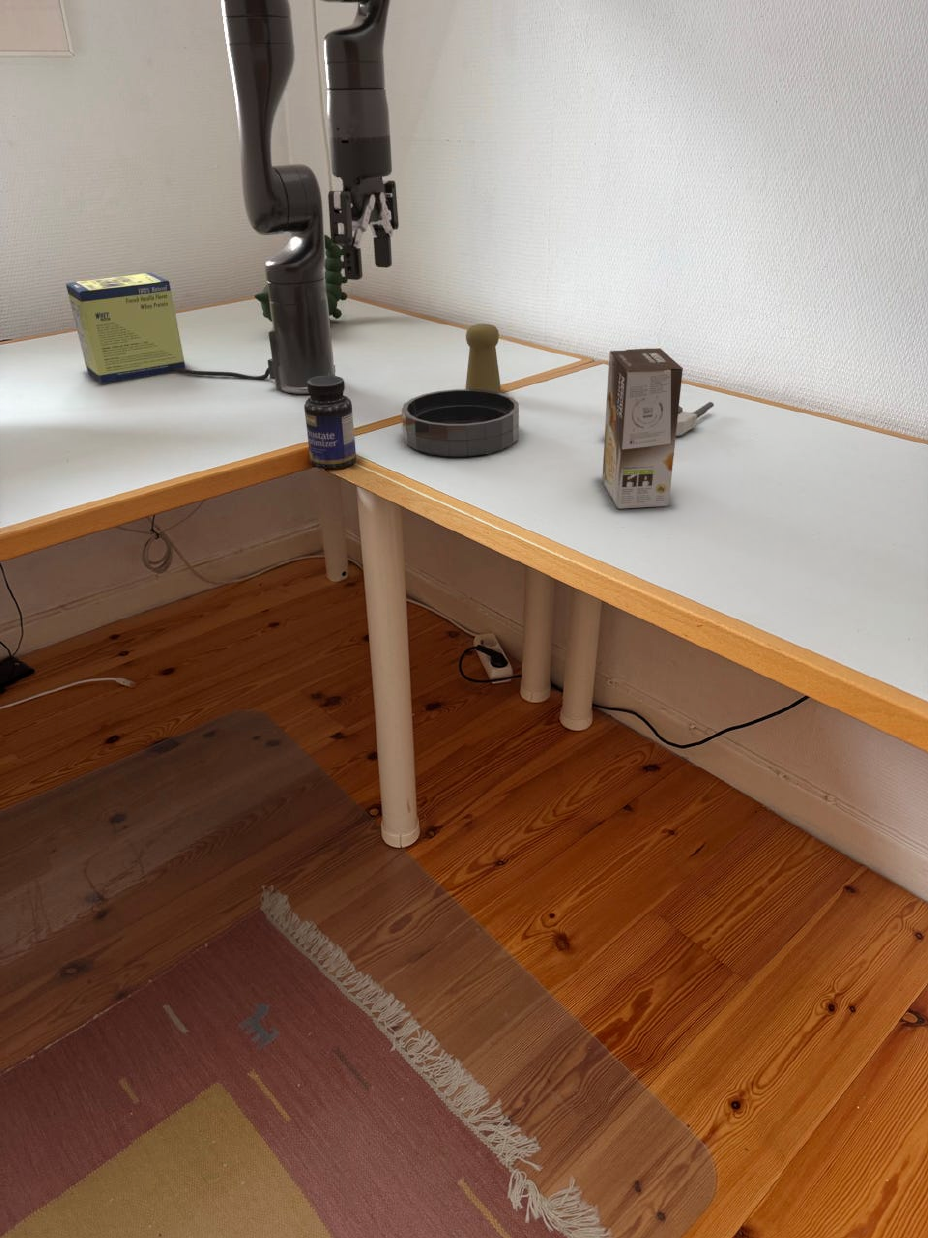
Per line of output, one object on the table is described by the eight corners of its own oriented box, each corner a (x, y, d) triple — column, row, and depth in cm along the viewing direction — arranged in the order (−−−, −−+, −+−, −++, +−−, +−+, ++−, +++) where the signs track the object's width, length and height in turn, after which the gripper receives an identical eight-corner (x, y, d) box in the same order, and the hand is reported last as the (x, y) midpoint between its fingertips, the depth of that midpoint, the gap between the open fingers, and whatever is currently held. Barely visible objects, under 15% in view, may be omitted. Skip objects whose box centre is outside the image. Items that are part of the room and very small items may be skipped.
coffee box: (670, 506, 99) (685, 367, 91) (616, 510, 99) (626, 371, 90) (649, 477, 107) (661, 346, 99) (599, 479, 107) (607, 349, 98)
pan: (385, 451, 117) (382, 418, 115) (431, 415, 130) (429, 385, 128) (496, 464, 112) (496, 430, 110) (533, 425, 125) (533, 394, 122)
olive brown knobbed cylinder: (498, 401, 135) (498, 329, 129) (461, 399, 136) (459, 328, 130) (504, 389, 140) (504, 320, 134) (468, 388, 141) (466, 319, 135)
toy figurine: (326, 323, 192) (242, 337, 173) (322, 231, 183) (233, 235, 165) (358, 328, 187) (275, 342, 169) (355, 234, 179) (267, 238, 160)
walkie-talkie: (657, 455, 113) (717, 414, 127) (660, 423, 111) (721, 385, 124) (599, 443, 118) (663, 404, 131) (600, 411, 116) (665, 376, 129)
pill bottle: (302, 468, 113) (291, 385, 107) (324, 452, 118) (315, 371, 112) (344, 473, 111) (335, 388, 105) (364, 456, 116) (357, 375, 110)
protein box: (187, 369, 156) (170, 279, 148) (100, 385, 149) (77, 291, 141) (169, 357, 163) (152, 271, 155) (85, 372, 156) (62, 282, 148)
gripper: (359, 129, 111) (369, 261, 120) (302, 135, 100) (317, 281, 109) (411, 129, 109) (417, 264, 118) (358, 136, 98) (369, 285, 107)
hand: (369, 272), depth 113 cm, fingers open, 8 cm apart
